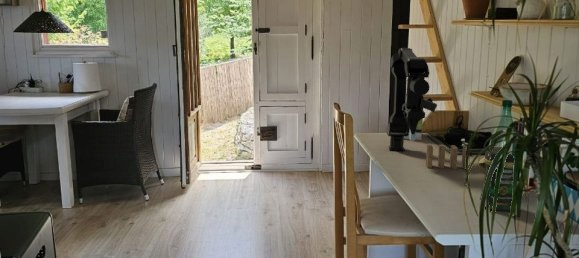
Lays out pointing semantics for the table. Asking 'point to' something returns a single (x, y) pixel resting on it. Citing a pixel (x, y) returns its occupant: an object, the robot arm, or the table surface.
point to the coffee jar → (505, 183)
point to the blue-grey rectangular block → (411, 136)
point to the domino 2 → (429, 156)
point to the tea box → (417, 130)
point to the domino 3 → (441, 156)
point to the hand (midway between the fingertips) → (412, 132)
